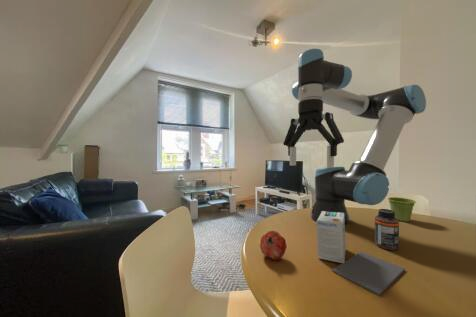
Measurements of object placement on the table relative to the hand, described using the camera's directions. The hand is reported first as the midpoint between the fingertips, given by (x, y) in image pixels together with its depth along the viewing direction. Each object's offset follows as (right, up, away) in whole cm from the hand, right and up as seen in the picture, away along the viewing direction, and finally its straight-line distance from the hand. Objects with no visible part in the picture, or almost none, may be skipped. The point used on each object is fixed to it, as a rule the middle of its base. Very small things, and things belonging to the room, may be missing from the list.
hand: (310, 166), depth 63 cm
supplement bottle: (+23, -25, -3) cm, 34 cm away
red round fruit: (-14, -26, -8) cm, 30 cm away
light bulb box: (+4, -25, -7) cm, 26 cm away
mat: (+9, -25, -15) cm, 31 cm away
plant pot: (+48, -24, +21) cm, 57 cm away
